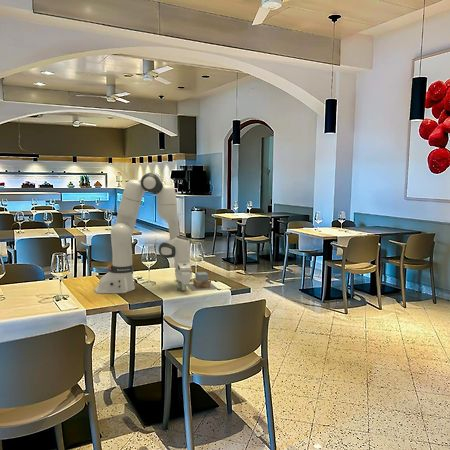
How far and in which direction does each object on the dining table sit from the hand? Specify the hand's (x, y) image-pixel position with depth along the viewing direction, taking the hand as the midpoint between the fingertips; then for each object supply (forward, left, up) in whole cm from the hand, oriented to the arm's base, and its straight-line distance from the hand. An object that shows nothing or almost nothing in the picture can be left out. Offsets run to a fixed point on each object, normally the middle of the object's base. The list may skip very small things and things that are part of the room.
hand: (181, 288), depth 248 cm
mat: (+13, +4, -2) cm, 14 cm away
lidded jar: (+6, +20, -2) cm, 21 cm away
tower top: (+13, +4, +3) cm, 14 cm away
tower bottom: (+13, +4, -1) cm, 14 cm away
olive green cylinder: (0, 0, -2) cm, 2 cm away
